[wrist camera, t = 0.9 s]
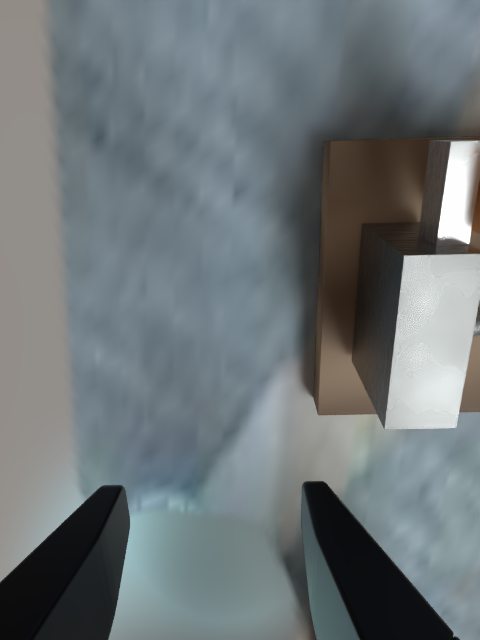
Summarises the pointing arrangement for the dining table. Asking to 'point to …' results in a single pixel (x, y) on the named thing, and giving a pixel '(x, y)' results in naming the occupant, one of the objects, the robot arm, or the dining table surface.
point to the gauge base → (344, 249)
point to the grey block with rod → (421, 298)
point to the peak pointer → (477, 213)
